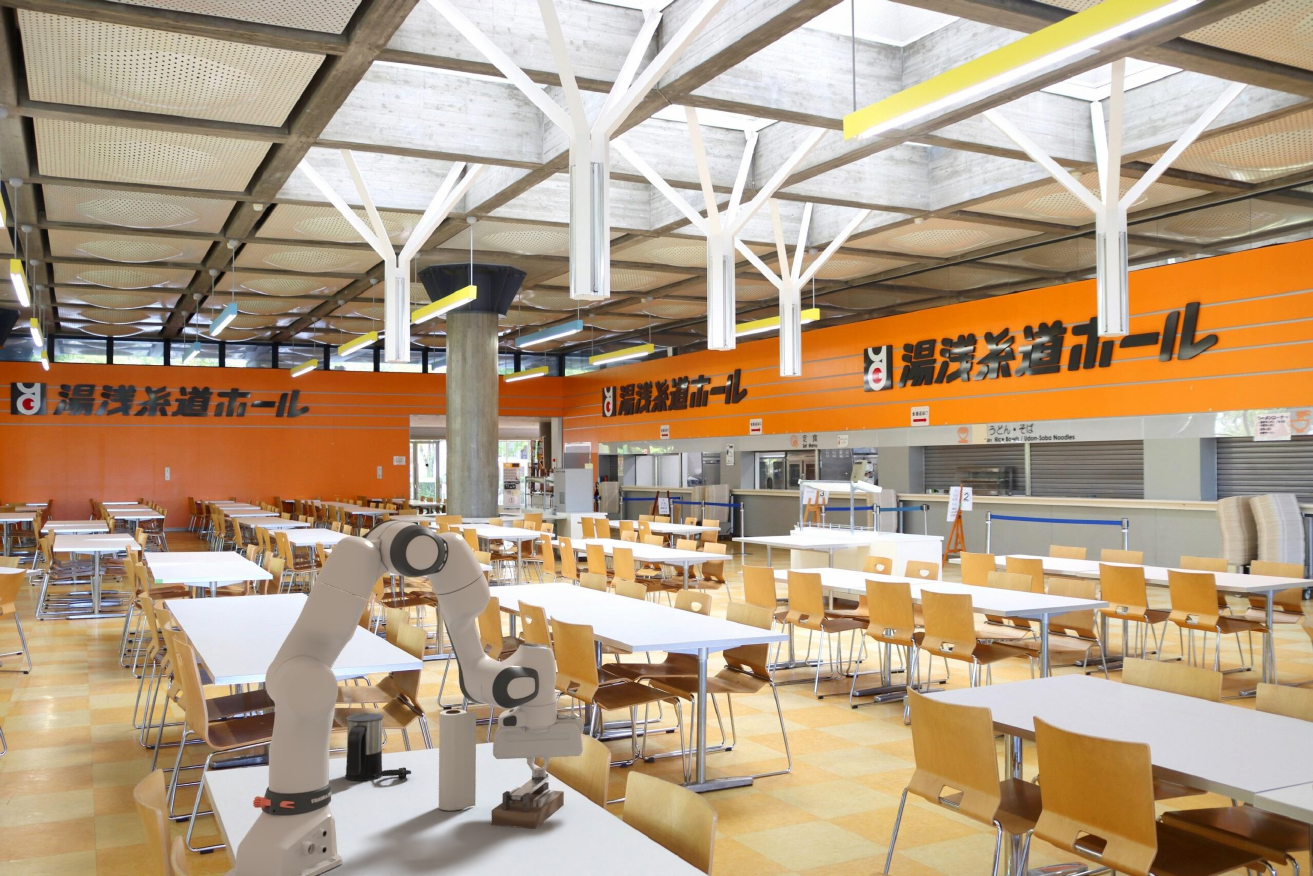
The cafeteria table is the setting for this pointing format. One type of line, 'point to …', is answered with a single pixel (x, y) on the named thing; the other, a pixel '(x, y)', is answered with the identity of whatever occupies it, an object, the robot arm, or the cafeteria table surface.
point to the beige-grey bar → (528, 788)
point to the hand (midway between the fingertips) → (539, 776)
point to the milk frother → (366, 749)
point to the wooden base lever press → (528, 808)
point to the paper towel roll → (457, 759)
